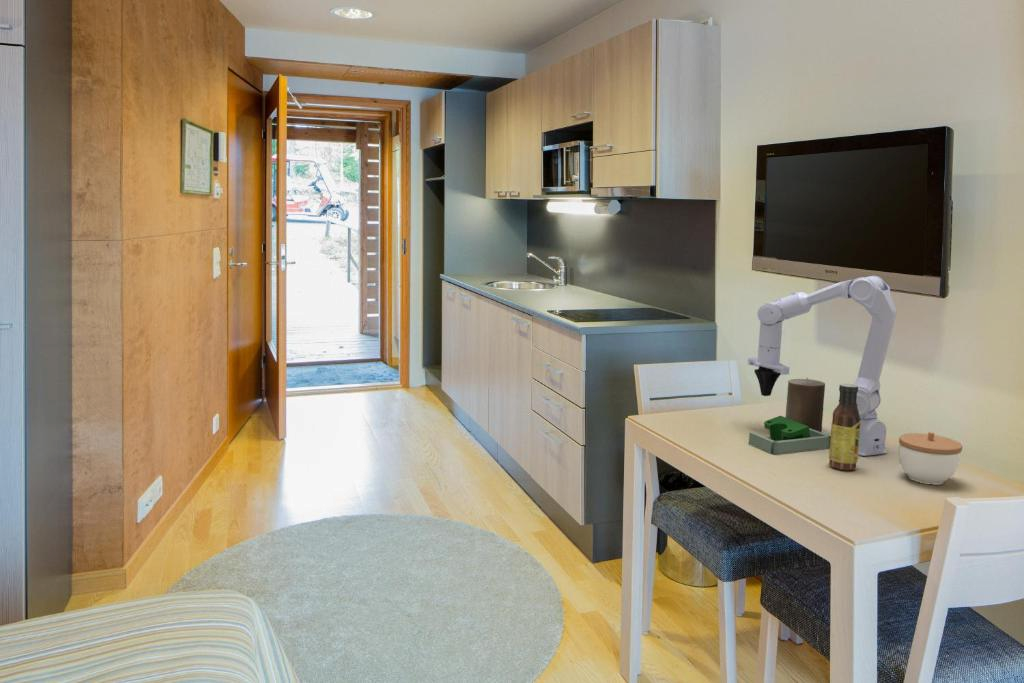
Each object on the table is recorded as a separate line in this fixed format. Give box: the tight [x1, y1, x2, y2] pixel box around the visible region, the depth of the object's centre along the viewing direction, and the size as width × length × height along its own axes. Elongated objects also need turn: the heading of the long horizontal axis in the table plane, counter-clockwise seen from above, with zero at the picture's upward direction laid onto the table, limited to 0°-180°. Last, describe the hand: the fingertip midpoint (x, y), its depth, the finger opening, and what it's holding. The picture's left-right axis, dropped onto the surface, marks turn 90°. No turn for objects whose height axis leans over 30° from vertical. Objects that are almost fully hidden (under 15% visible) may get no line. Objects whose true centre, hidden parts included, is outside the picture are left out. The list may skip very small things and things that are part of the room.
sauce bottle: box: [828, 383, 861, 471], centre depth 184 cm, size 7×6×20 cm
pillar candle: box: [784, 377, 826, 432], centre depth 216 cm, size 10×10×15 cm
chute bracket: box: [748, 428, 831, 456], centre depth 201 cm, size 10×18×3 cm, turn 112°
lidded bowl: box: [898, 431, 963, 486], centre depth 177 cm, size 13×13×11 cm
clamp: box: [763, 415, 810, 441], centre depth 204 cm, size 12×6×9 cm, turn 13°
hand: (765, 395), depth 214 cm, fingers closed
